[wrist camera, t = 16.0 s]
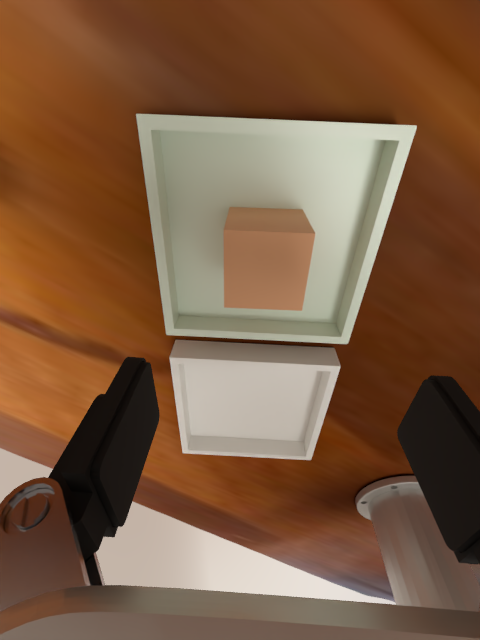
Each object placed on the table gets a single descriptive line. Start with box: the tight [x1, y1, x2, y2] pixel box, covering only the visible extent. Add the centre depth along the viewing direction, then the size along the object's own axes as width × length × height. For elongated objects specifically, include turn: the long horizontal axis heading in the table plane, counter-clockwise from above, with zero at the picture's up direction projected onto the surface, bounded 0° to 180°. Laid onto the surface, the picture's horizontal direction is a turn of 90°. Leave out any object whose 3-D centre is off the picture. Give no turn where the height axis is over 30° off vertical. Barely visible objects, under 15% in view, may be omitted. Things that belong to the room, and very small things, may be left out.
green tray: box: [136, 114, 417, 344], centre depth 21 cm, size 15×15×2 cm
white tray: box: [169, 340, 341, 460], centre depth 31 cm, size 15×15×2 cm
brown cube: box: [224, 207, 315, 311], centre depth 19 cm, size 5×5×5 cm
